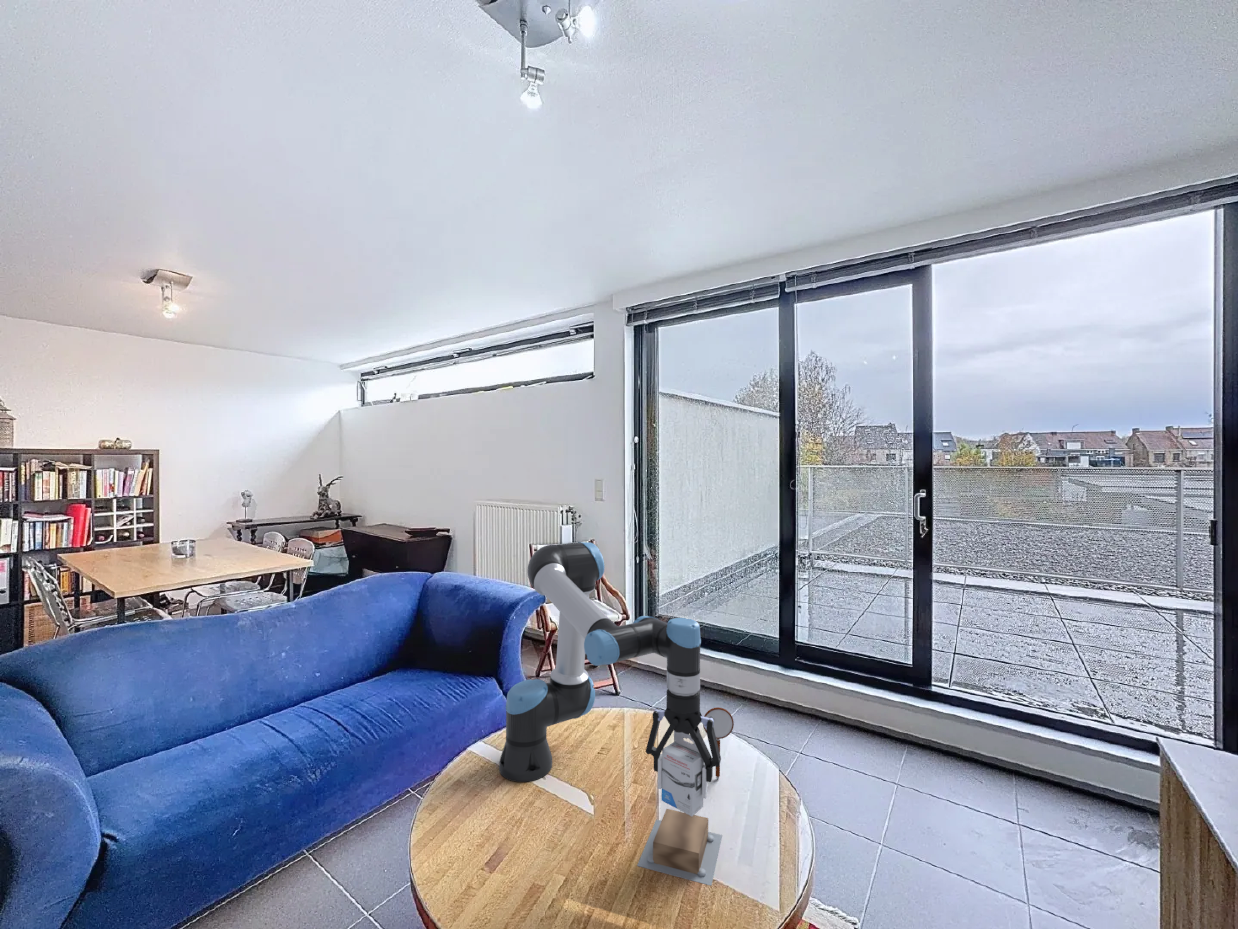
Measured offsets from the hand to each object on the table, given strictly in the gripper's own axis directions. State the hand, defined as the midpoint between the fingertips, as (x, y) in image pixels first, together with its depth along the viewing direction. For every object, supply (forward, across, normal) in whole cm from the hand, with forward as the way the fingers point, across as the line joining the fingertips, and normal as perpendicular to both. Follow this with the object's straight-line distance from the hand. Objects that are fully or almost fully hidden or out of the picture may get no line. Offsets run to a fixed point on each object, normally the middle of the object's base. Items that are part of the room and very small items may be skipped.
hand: (682, 790), depth 119 cm
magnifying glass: (+15, +3, +32) cm, 36 cm away
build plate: (+15, 0, 0) cm, 15 cm away
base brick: (+13, 0, 0) cm, 13 cm away
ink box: (+3, 0, 0) cm, 3 cm away
